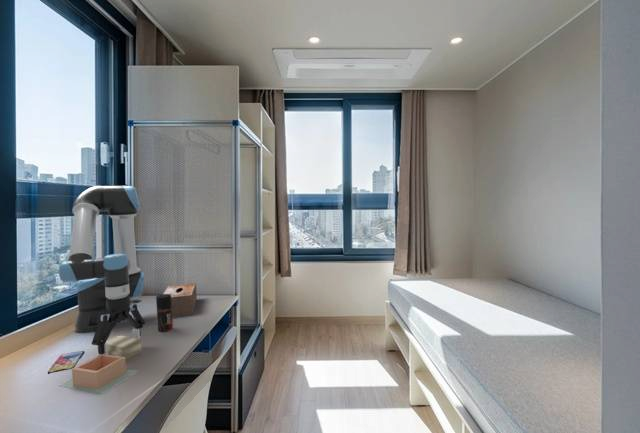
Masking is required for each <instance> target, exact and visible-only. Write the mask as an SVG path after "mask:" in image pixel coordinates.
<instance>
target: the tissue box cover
mask: <svg viewBox="0 0 640 433" xmlns="http://www.w3.org/2000/svg"><path fill="white" fill-rule="evenodd" d="M162 294H171V305H172V318H174V316H175V317H182V315H183V316H189V315H190V316H191V315H193V314H194V310H195V307H196V304H197V299H198V298H197V283H196V282H194V283H183V284H182V283H181V284H173V285H172V284H171V285H168V286H167V287H166V289H165V290H164V291H163V293H162Z"/></svg>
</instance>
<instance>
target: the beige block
mask: <svg viewBox="0 0 640 433" xmlns="http://www.w3.org/2000/svg"><path fill="white" fill-rule="evenodd" d="M106 343H107V344H108V355H113V356H120V357H125V361H127V360H129V359H131V358H133V357H135V356H137V355H139V354H141V353H142V352H143V350H142V339H141V338H140V339H136V338H133V337H130V336H125V335H116V336H114V337H112V338H111V337H110V338H109V339H107V341H106Z"/></svg>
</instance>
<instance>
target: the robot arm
mask: <svg viewBox="0 0 640 433" xmlns="http://www.w3.org/2000/svg"><path fill="white" fill-rule="evenodd" d="M72 205H73V206H72V210H71V212H72V214H73V215H74V216H73V224H72V232H71V238H70V246H69V252H68V258H67V259H68V260H66V261H61V262H60V263H59V266H58V267H59V268H58V276H59V279H60V281H62V282H63V283H64V282H66V283H67V282H77V283H76V293H77V305H78V306H77V307H78V315H77V317H76V321H75V324H74V331H75V332H77V333H92V332H94V336H93V338H92V340H91V341H92V342H91V345H92V346H97V352H98V354H99V355H101V354H105V355H108V344H107V343H106V341H107V340H109V339H108V338H109V337H110V335H111V333H112V332H113V329H114V328H115V326H117V324H120V323H121V322H124V321H127V323H129V325H131V326H132V327H133V328H132V329H131V330H132V338H136V339H141V335H142V333H141V331H142V330H141V329H143V327H144V325H145V324H146V322H145V319H144V318H143V316H142V314H141V313H140V311H139V309H138V304H136V303H131V300H132V299H137V298H141V296H143V290H144V280H145V279H144V278H145V273H144V272H141V271H142V270H141V268H140V267H138V265H137V264H138V263H137V252H136V250H137V248H136V236H135V219H134V218H135V217H136V216H137V215H138V211H140V210H141V207H140V201H139V196H138V192H137V189H136V187H135V186H132V185H95V186H92V187H89V188H87V189H85V190H84V191H82V193H80V194H79V195H78V196H77V198H76V199H75V200H74V202H73V204H72ZM100 212H107V216H108V217H110V218H111V220H112V232H113V234H112V235H113V246H114V253H112V254H108V255H104V257H101V258H99V257H98V258H94V247H95V235H96V223H97V217H98V216H99V214H100ZM131 314H132V315H131Z"/></svg>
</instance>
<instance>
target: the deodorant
mask: <svg viewBox="0 0 640 433" xmlns="http://www.w3.org/2000/svg"><path fill="white" fill-rule="evenodd" d="M155 303H156V317H157V318H156V319H157V332H159V333H166V332H169V331H171V330H173V329H174V327H173V326H174V324H173V317H172V305H171V294H163V293H162V294H159V295H157V296H155Z"/></svg>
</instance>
